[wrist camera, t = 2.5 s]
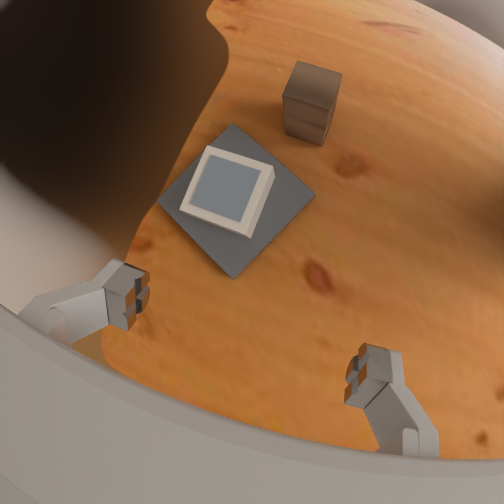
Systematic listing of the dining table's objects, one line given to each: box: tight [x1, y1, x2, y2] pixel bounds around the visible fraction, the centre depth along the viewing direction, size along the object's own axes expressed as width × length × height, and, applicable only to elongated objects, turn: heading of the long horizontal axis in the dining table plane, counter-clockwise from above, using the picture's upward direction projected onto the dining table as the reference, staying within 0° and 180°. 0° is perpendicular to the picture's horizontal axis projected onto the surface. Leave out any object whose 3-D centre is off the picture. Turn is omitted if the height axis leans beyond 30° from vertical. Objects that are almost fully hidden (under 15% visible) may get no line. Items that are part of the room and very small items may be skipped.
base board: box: [157, 123, 315, 279], centre depth 37 cm, size 14×14×6 cm
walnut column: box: [282, 61, 342, 146], centre depth 35 cm, size 5×5×10 cm
